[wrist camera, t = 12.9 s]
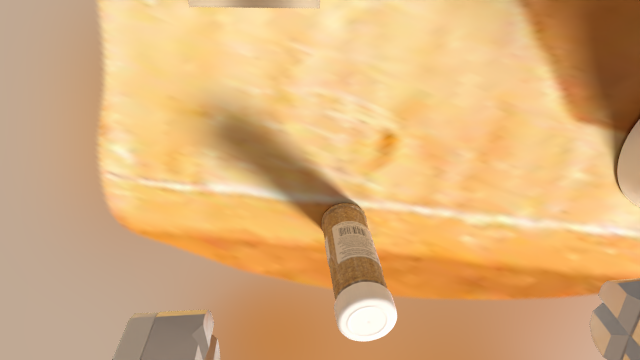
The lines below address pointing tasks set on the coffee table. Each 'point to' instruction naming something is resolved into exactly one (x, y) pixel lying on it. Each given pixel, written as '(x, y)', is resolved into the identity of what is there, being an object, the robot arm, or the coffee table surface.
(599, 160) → the coffee table surface
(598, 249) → the coffee table surface
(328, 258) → the sprinkles bottle
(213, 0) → the oak block
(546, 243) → the coffee table surface
